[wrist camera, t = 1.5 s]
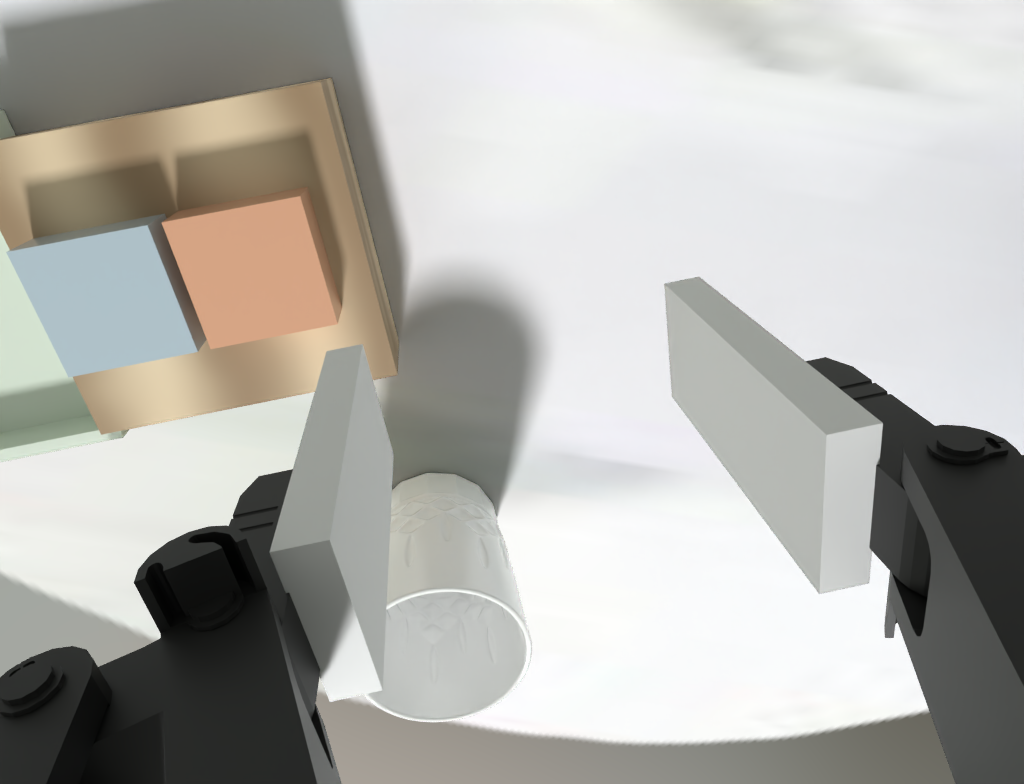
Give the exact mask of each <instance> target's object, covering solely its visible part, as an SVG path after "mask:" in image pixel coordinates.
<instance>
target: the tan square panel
mask: <svg viewBox="0 0 1024 784" xmlns="http://www.w3.org/2000/svg"><path fill="white" fill-rule="evenodd" d="M302 187H308V190H309V193H310V197H311V200H312V204H313V207H314V211H315V214H316V218H317V221H318V225H319V228H320V232H321V235H322V238H323V242H324V245H325V249H326V252H327V256H328V259H329V263H330V266H331V270H332V273H333V277H334V280H335V284H336V287H337V291H338V294H339V298H340V301H341V305H342V311H341V314H340V318H339V322H338V324H336V325H331V326H326V327H321V328H316V329H311V330H306V331H301V332H296V333H291V334H286V335H281V336H276V337H271V338H266V339H261V340H256V341H251V342H246V343H240V344H235V345H230V346H225V347H220V348H215V349H210V346H209V344H208V341H207V340H206V341H205V343H204V344H203V345H202V347H201V348H200V350H199V351H198V352H195V353H190V354H185V355H180V356H175V357H170V358H165V359H160V360H155V361H149V362H144V363H139V364H134V365H129V366H124V367H119V368H114V369H109V370H104V371H99V372H94V373H89V374H84V375H79V376H74V377H73V379H74V381H75V383H76V385H77V387H78V389H79V391H80V393H81V395H82V397H83V399H84V401H85V403H86V405H87V407H88V409H89V411H90V413H91V415H92V417H93V419H94V421H95V423H96V425H97V427H98V429H99V431H100V433H101V435H103V434H108V433H113V432H118V431H123V430H128V429H133V428H137V427H142V426H147V425H152V424H157V423H162V422H167V421H172V420H177V419H182V418H187V417H192V416H197V415H202V414H207V413H212V412H217V411H222V410H227V409H232V408H237V407H242V406H247V405H252V404H257V403H262V402H267V401H271V400H276V399H281V398H286V397H291V396H296V395H301V394H306V393H311V392H315V390H316V387H317V383H318V380H319V376H320V373H321V369H322V366H323V362H324V359H325V355H326V352H327V351H330V350H335V349H340V348H345V347H350V346H355V345H360V344H363V347H364V350H365V354H366V358H367V361H368V365H369V368H370V372H371V375H372V379H373V380H376V379H381V378H386V377H391V376H396V375H397V374H398V352H399V340H398V336H397V332H396V328H395V324H394V320H393V316H392V312H391V308H390V304H389V300H388V296H387V292H386V289H385V285H384V281H383V277H382V273H381V269H380V265H379V261H378V257H377V253H376V249H375V245H374V241H373V238H372V234H371V230H370V226H369V222H368V218H367V214H366V210H365V206H364V202H363V198H362V194H361V191H360V187H359V183H358V179H357V175H356V171H355V167H354V163H353V159H352V155H351V151H350V147H349V143H348V140H347V136H346V132H345V128H344V124H343V120H342V116H341V112H340V108H339V104H338V100H337V96H336V92H335V89H334V85H333V81H332V78H327V79H322V80H316V81H311V82H305V83H300V84H294V85H289V86H284V87H278V88H273V89H267V90H262V91H256V92H251V93H245V94H240V95H234V96H229V97H224V98H218V99H213V100H207V101H202V102H196V103H191V104H185V105H180V106H175V107H169V108H164V109H158V110H153V111H147V112H142V113H136V114H131V115H126V116H120V117H115V118H109V119H104V120H98V121H93V122H87V123H82V124H76V125H71V126H66V127H60V128H55V129H49V130H44V131H38V132H33V133H27V134H22V135H17V136H12V137H7V138H3V139H0V231H1V233H2V235H3V237H4V239H5V241H6V243H7V245H8V247H9V249H10V250H11V249H13V248H15V247H17V246H19V245H21V244H23V243H25V242H27V241H29V240H31V239H33V238H38V237H44V236H49V235H54V234H60V233H65V232H70V231H75V230H81V229H86V228H91V227H97V226H102V225H107V224H112V223H118V222H123V221H128V220H133V219H139V218H144V217H149V216H155V215H160V214H165V215H166V218H169V217H170V216H172V215H173V214H174V213H176V212H177V211H181V210H186V209H191V208H197V207H202V206H207V205H213V204H218V203H223V202H228V201H234V200H239V199H244V198H250V197H255V196H260V195H265V194H271V193H276V192H281V191H286V190H292V189H297V188H302Z"/></svg>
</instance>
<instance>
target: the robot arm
mask: <svg viewBox="0 0 1024 784" xmlns="http://www.w3.org/2000/svg"><path fill="white" fill-rule="evenodd" d="M664 286H665V301H666V315H667V330H668V345H669V360H670V374H671V389H672V397H673V399H674V400H675V401H676V403H677V404H678V405H679V407H680V408H681V409H682V411H683V412H684V413H685V415H686V416H687V417H688V419H689V420H690V421H691V423H692V424H693V425H694V427H695V428H696V429H697V431H698V432H699V434H700V435H701V436H702V438H703V439H704V440H705V442H706V443H707V444H708V446H709V447H710V448H711V450H712V451H713V452H714V454H715V455H716V456H717V458H718V459H719V460H720V462H721V463H722V464H723V466H724V467H725V468H726V470H727V471H728V472H729V474H730V475H731V476H732V478H733V479H734V480H735V482H736V483H737V484H738V486H739V487H740V488H741V490H742V491H743V492H744V494H745V495H746V497H747V498H748V499H749V501H750V502H751V503H752V505H753V506H754V507H755V509H756V510H757V511H758V513H759V514H760V515H761V517H762V518H763V519H764V521H765V522H766V523H767V525H768V526H769V527H770V529H771V530H772V531H773V533H774V534H775V535H776V537H777V538H778V539H779V541H780V542H781V543H782V545H783V546H784V547H785V549H786V550H787V551H788V553H789V554H790V555H791V557H792V558H793V559H794V561H795V562H796V564H797V565H798V566H799V568H800V569H801V570H802V572H803V573H804V574H805V576H806V577H807V578H808V580H809V581H810V582H811V584H812V585H813V586H814V588H815V589H816V590H817V592H818V593H819V594H822V593H827V592H831V591H836V590H840V589H845V588H850V587H854V586H859V585H863V584H868V583H869V579H870V567H871V556H872V551H873V552H874V553H875V555H876V556H877V557H878V558H879V559H880V560H881V561H882V562H883V563H884V564H885V565H886V567H887V568H888V569H889V570H890V577H889V587H888V596H887V606H886V616H885V625H884V626H885V638H894V629H895V624H896V623H897V622H898V624H899V627H900V630H901V633H902V636H903V638H904V641H905V644H906V647H907V649H908V652H909V655H910V658H911V661H912V663H913V666H914V669H915V672H916V675H917V677H918V680H919V683H920V686H921V689H922V691H923V694H924V697H925V700H926V703H927V705H928V708H929V711H930V714H931V716H932V719H933V722H934V725H935V728H936V730H937V733H938V736H939V739H940V741H941V744H942V747H943V750H944V753H945V755H946V758H947V761H948V764H949V767H950V770H951V772H952V775H953V778H954V781H955V783H956V784H1024V455H1021V454H1020V453H1019V452H1018V450H1017V449H1016V448H1015V447H1014V446H1012V445H1011V444H1010V443H1009V442H1008V441H1006V440H1005V439H1004V438H1001V437H999V436H997V435H994V434H992V433H990V432H988V431H984V430H980V429H976V428H971V427H967V426H954V425H939V426H934V425H933V424H931V423H930V422H929V421H927V420H926V419H925V418H923V417H922V416H920V415H919V414H918V413H916V412H915V411H913V410H912V409H911V408H909V407H908V406H907V405H905V404H904V403H902V402H901V401H900V400H898V399H897V398H895V397H894V396H893V395H891V394H889V395H888V394H887V391H886V390H884V389H883V388H882V387H880V386H879V385H877V384H876V383H872V380H871V379H869V378H868V377H866V376H865V375H864V374H862V373H861V372H859V371H858V370H857V369H855V368H854V367H852V366H849V365H846V364H843V363H840V362H837V361H835V360H832V359H829V358H826V357H825V358H820V359H815V360H811V361H804V360H803V359H802V358H801V357H799V356H798V355H797V354H795V353H794V352H793V351H792V350H790V349H789V348H788V347H787V346H785V345H784V344H783V343H782V342H780V341H779V340H778V339H777V338H775V337H774V336H773V335H772V334H770V333H769V332H768V331H767V330H765V329H764V328H763V327H762V326H760V325H759V324H758V323H757V322H755V321H754V320H753V319H751V318H750V317H749V316H748V315H746V314H745V313H744V312H743V311H741V310H740V309H739V308H738V307H736V306H735V305H734V304H733V303H731V302H730V301H729V300H728V299H726V298H725V297H724V296H723V295H721V294H720V293H719V292H718V291H716V290H715V289H714V288H713V287H711V286H710V285H709V284H707V283H706V282H705V281H704V280H702V279H701V278H700V277H695V278H690V279H685V280H680V281H675V282H670V283H665V284H664ZM393 458H394V454H393V450H392V446H391V443H390V439H389V436H388V432H387V429H386V425H385V422H384V418H383V414H382V411H381V407H380V404H379V400H378V397H377V393H376V390H375V386H374V382H373V379H372V375H371V372H370V368H369V365H368V361H367V358H366V354H365V350H364V347H363V344H360V345H355V346H350V347H345V348H340V349H335V350H330V351H327V352H326V355H325V359H324V362H323V366H322V369H321V373H320V376H319V380H318V383H317V387H316V390H315V394H314V397H313V401H312V404H311V408H310V411H309V415H308V418H307V422H306V425H305V429H304V432H303V436H302V439H301V443H300V447H299V450H298V454H297V457H296V461H295V464H294V468H293V469H292V470H287V471H283V472H278V473H273V474H268V475H263V476H259V477H258V478H257V479H256V480H255V481H254V482H253V483H252V484H251V485H250V486H249V487H248V488H247V489H246V490H245V492H244V493H243V494H242V495H241V496H240V498H239V501H238V503H237V506H236V509H235V511H234V514H233V519H231V522H230V524H229V526H210V527H205V528H202V529H198V530H195V531H191V532H188V533H186V534H184V535H182V536H180V537H178V538H176V539H174V540H171V541H169V542H168V543H166V544H165V545H163V546H162V547H161V548H159V549H158V550H157V551H155V552H154V553H153V554H151V555H150V556H149V557H148V559H147V560H146V561H145V562H144V563H143V564H142V566H141V567H140V568H139V569H138V572H137V575H136V578H135V581H134V584H135V586H136V587H137V589H138V591H139V593H140V595H141V597H142V599H143V601H144V603H145V604H146V606H147V608H148V610H149V612H150V614H151V616H152V618H153V620H154V621H155V623H156V625H157V627H158V629H159V631H160V633H161V638H160V639H159V640H157V641H155V642H153V643H151V644H149V645H147V646H145V647H143V648H141V649H139V650H137V651H134V652H132V653H130V654H127V655H125V656H123V657H120V658H118V659H116V660H113V661H111V662H109V663H107V664H104V665H102V666H100V667H97V665H96V663H95V662H94V660H93V658H92V657H91V655H90V654H89V653H88V651H87V650H85V649H82V648H77V647H73V646H71V647H63V648H56V649H51V650H49V651H46V652H44V653H41V654H38V655H36V656H34V657H31V658H29V659H27V660H25V661H23V662H21V663H20V664H19V665H16V666H15V667H13V668H11V669H10V670H9V671H7V672H6V673H5V674H4V675H3V676H1V677H0V784H341V781H340V777H339V774H338V770H337V767H336V763H335V760H334V756H333V753H332V750H331V746H330V743H329V739H328V736H327V732H326V729H325V726H324V723H323V720H322V718H321V716H320V713H319V711H318V708H317V706H316V704H315V702H316V696H317V689H318V682H319V676H320V679H321V681H322V683H323V686H324V688H325V691H326V693H327V696H328V698H329V701H330V702H332V701H336V700H340V699H346V698H350V697H355V696H359V695H364V694H368V693H373V692H377V691H382V690H383V673H384V651H385V630H386V608H387V587H388V565H389V544H390V522H391V501H392V479H393Z"/></svg>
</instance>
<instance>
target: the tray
mask: <svg viewBox="0 0 1024 784" xmlns="http://www.w3.org/2000/svg"><path fill="white" fill-rule="evenodd" d="M12 136H16V135H15V133H14V131H13V129H12V127H11V125H10V122H9V120H8V118H7V116H6V114H5V111H4V110H0V139H3V138H7V137H12ZM9 250H10V249H9V247H8V245H7V243H6V241H5V239H4V237H3V235H2V233H1V231H0V462H4V461H9V460H14V459H19V458H24V457H29V456H34V455H39V454H44V453H49V452H54V451H59V450H64V449H69V448H74V447H79V446H83V445H88V444H93V443H98V442H103V441H108V440H113V439H118V438H123V437H124V436H125V434H126V433H127V432H128V430H129V429H128V430H123V431H118V432H113V433H108V434H103V435H101V433H100V431H99V429H98V427H97V425H96V423H95V421H94V419H93V417H92V415H91V413H90V411H89V409H88V407H87V405H86V403H85V401H84V399H83V397H82V395H81V393H80V391H79V389H78V387H77V385H76V383H75V381H74V379H73V377H68V375H67V373H66V371H65V369H64V367H63V365H62V363H61V361H60V359H59V357H58V355H57V353H56V351H55V349H54V347H53V345H52V343H51V341H50V339H49V337H48V335H47V333H46V331H45V329H44V327H43V325H42V323H41V321H40V319H39V317H38V315H37V313H36V311H35V309H34V307H33V305H32V303H31V301H30V299H29V297H28V295H27V293H26V291H25V289H24V287H23V285H22V283H21V281H20V279H19V277H18V275H17V273H16V271H15V269H14V267H13V265H12V263H11V261H10V259H9V257H8V255H7V253H6V252H7V251H9Z"/></svg>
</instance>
